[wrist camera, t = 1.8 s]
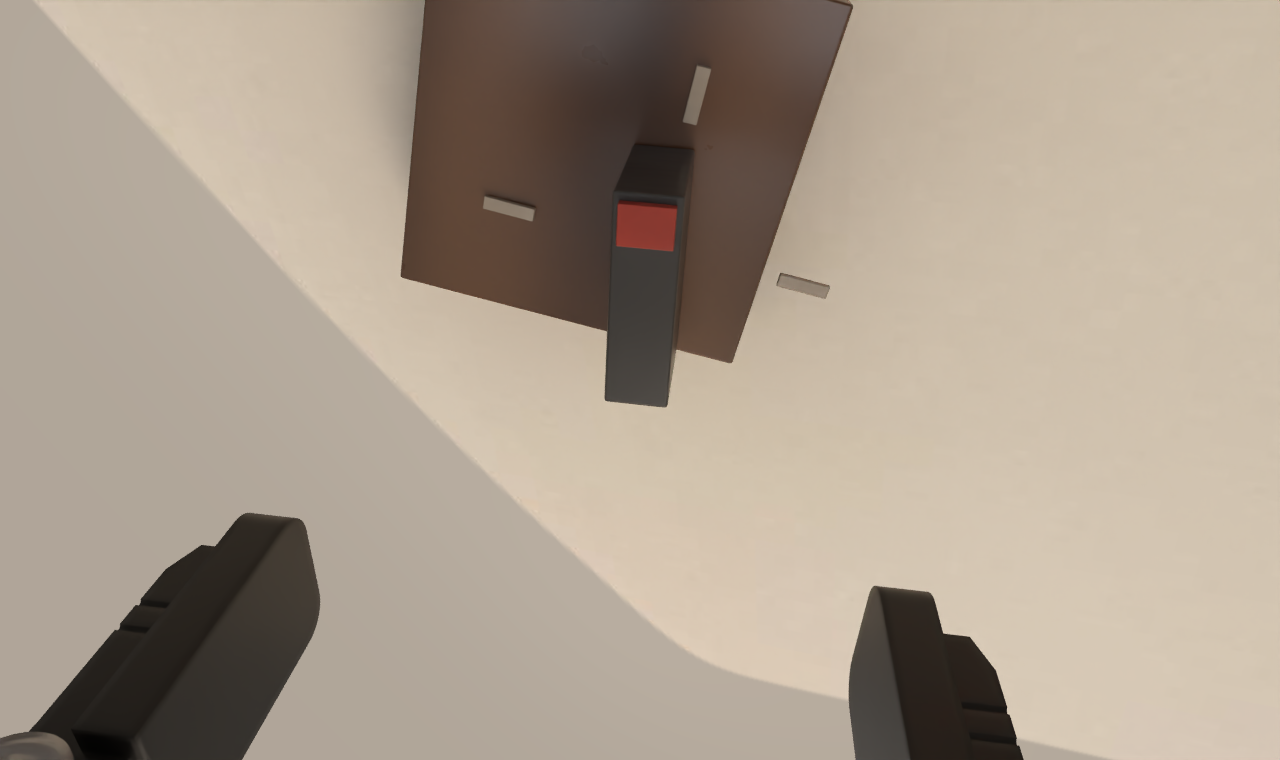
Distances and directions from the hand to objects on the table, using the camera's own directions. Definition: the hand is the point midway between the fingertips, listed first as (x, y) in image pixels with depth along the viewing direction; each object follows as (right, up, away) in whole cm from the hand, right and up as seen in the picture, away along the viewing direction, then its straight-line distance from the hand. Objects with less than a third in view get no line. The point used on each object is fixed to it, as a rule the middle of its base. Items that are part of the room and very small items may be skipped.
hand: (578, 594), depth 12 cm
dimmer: (+1, +9, +13) cm, 16 cm away
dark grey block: (+1, +7, +11) cm, 13 cm away
